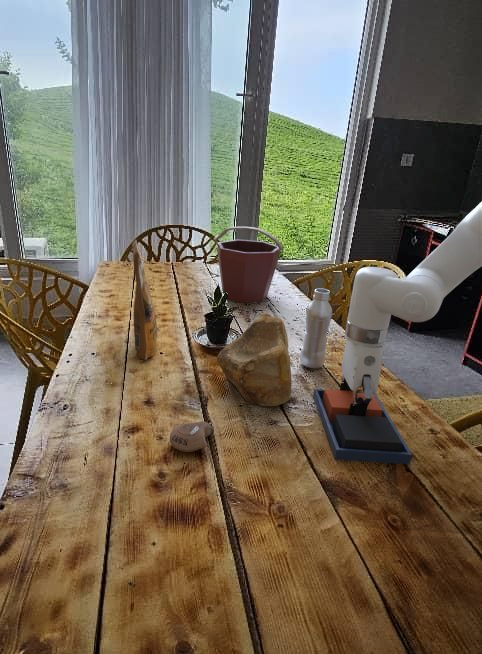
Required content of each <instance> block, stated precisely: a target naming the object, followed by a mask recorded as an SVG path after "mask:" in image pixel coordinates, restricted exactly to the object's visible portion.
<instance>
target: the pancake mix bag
mask: <svg viewBox="0 0 482 654" xmlns="http://www.w3.org/2000/svg"><path fill="white" fill-rule="evenodd" d="M131 247H132V252H133V253H132V254H133V255H132V256H133V258H132V259H133V260H132V261H133V271H134V277H135V289H134V290H135V291H134V301H133V335H134V348H135V352H136V353H135V354H136V355H135V356H136V357H137V358H138V359H141V360H144V361H147V360H148V359H149V358H152V357H154V355H155V353H156V346H157V338H158V323H157V317H156V311H155V307H154V302H153V297H152V292H151V288H150V284H149V280H148V277H147V276H148V275H147V272H146V269H145V268H146V267H145V264H144V260H143V258H142V254H141V251H140V248H139V247H138V244H137V239H135V240H134V241H133V243H131Z"/></svg>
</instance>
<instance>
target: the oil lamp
mask: <svg viewBox="0 0 482 654" xmlns="http://www.w3.org/2000/svg"><path fill="white" fill-rule="evenodd" d="M214 432H215V428H214V427H213V426H212V425H211V424H210V423H209V422H207V421H204V420H202V421H196V422H186V423H180V424H178V425H175V426H173V427H172V430H171V432H170V434H169V443H170V445H171V446H172V447H173V448H174V449H175V450H178V451H180V452H184V453H192V452H197V451H199V450H201V449H204V448H206V447H207V441H206V437H207V438H208V437H210V436H211V435H212V434H213V433H214Z"/></svg>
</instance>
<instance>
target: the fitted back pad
mask: <svg viewBox="0 0 482 654" xmlns="http://www.w3.org/2000/svg"><path fill="white" fill-rule="evenodd" d="M333 432H334V434H335V437H336V440H337V442H338V445H339V448H345V449H360V450H376V451H391V452H400V451H401V447H402V442H401V440H400V438H399V437H398V435H397V433H396V431H395V430H394V428H393V426H392V425H391V423H390V421H389V420H388V418H385V417H369V416H353V415H337V414H335V419H334V424H333Z"/></svg>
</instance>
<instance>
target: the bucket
mask: <svg viewBox="0 0 482 654" xmlns="http://www.w3.org/2000/svg"><path fill="white" fill-rule="evenodd" d="M234 230H248V231H249V230H250V231H255V232H258V233H260V234H261V235H264V236H265V237H267V238H268V239H270V240H271V241H273V243H274V244H273V243H270V242H266V241H263V240H262V241H261V240H249V239H231V240H230V239H229V240H225V241H218V240H220V239H221V238H223V237H224V236H225V235H226V234H227V233H228V232H230V231H234ZM213 240H214V243H215V245H216V246H217V249H216V251H217V260H218V268H219V275H220V282H221V283H220V284H221V291H223V292H222V294H223V293H226V292H227V293H228V299H227V300H229V301H233V302H237V303H241V304H251V303H263V302H264V300H266V299H267V298H268V294H269V291H270V290H271V289H270V287H271V285H272V282H273V278H274V276H275V271H276V269H277V267H278V262H279V258H280V253H281V251H282V250H283V248H284V247H283V245H282V243H281V242H280V241H279V239H278V238H277V237H275V236H274V235H273V234H271V233H269V232H268V231H266V230H265V229H262V228H259V227H254V226H231V227H227V228H224V229H223V231H221V233H219V235H215V237H213Z"/></svg>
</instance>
